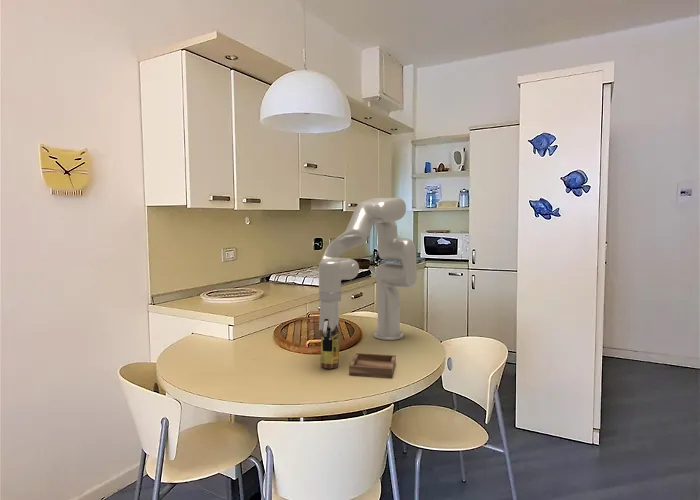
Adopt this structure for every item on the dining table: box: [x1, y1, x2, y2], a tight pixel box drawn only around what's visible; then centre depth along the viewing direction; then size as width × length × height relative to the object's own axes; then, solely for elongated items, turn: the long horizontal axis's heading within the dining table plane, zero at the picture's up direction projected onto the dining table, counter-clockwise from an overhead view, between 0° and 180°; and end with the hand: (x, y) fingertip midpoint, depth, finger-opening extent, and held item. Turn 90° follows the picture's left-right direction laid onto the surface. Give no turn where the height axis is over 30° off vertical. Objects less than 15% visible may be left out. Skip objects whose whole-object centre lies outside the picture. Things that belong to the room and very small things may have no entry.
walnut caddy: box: [348, 352, 397, 379], centre depth 150 cm, size 14×14×3 cm
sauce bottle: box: [320, 325, 340, 370], centre depth 152 cm, size 7×6×20 cm
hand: (330, 347), depth 152 cm, fingers open, 6 cm apart
